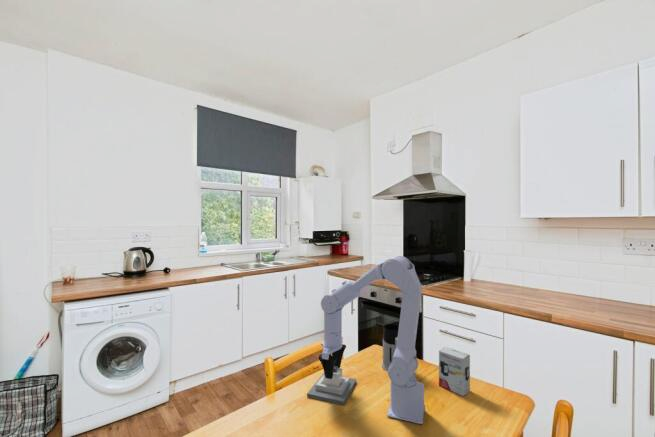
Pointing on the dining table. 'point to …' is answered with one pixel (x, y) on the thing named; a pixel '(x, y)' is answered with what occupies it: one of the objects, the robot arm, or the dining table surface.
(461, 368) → the ink box
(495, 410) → the dining table surface
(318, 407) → the dining table surface
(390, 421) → the dining table surface
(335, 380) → the plug
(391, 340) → the glass holder
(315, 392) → the socket dock
